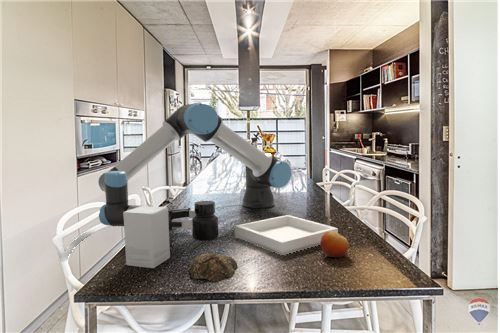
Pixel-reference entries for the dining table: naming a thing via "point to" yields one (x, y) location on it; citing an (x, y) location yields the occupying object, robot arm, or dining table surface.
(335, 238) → the fruit
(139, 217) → the supplement box
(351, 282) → the dining table surface
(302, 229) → the tray
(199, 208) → the ink bottle
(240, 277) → the dining table surface
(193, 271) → the brown lumpy mound
